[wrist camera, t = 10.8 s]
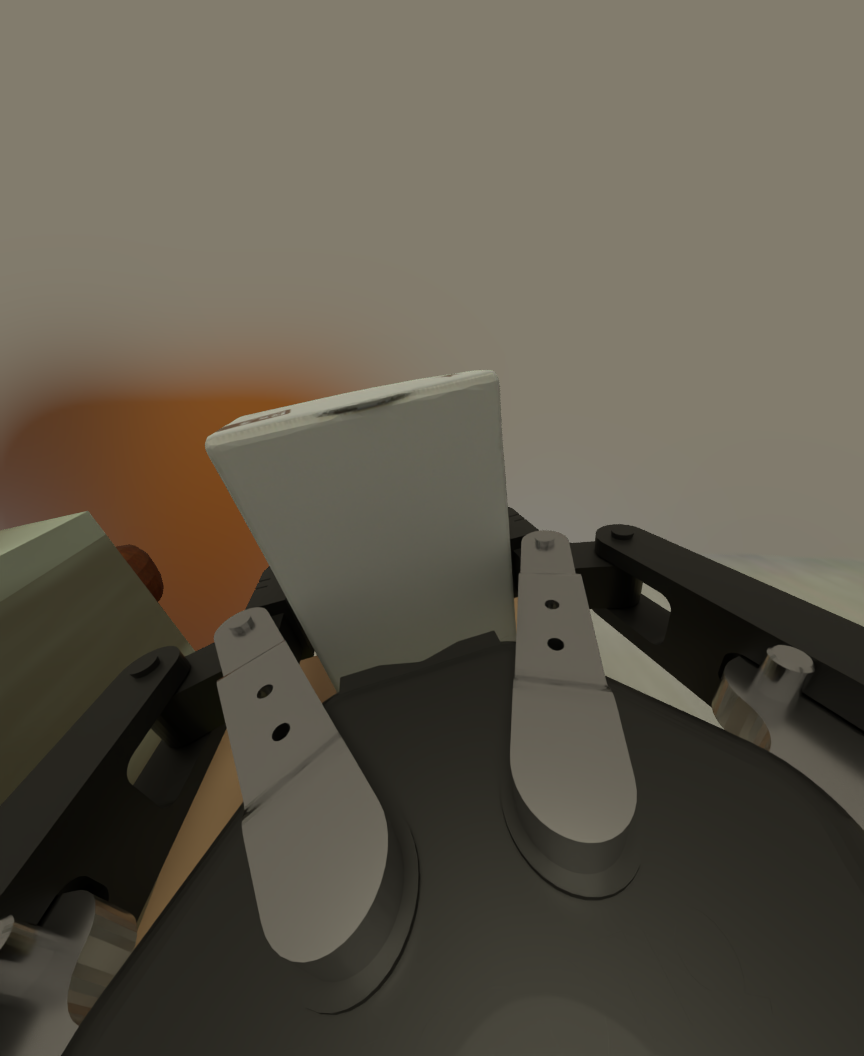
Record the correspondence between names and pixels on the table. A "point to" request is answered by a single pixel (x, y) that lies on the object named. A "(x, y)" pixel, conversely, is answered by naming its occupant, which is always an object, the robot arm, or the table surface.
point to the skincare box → (381, 515)
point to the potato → (143, 569)
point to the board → (95, 669)
